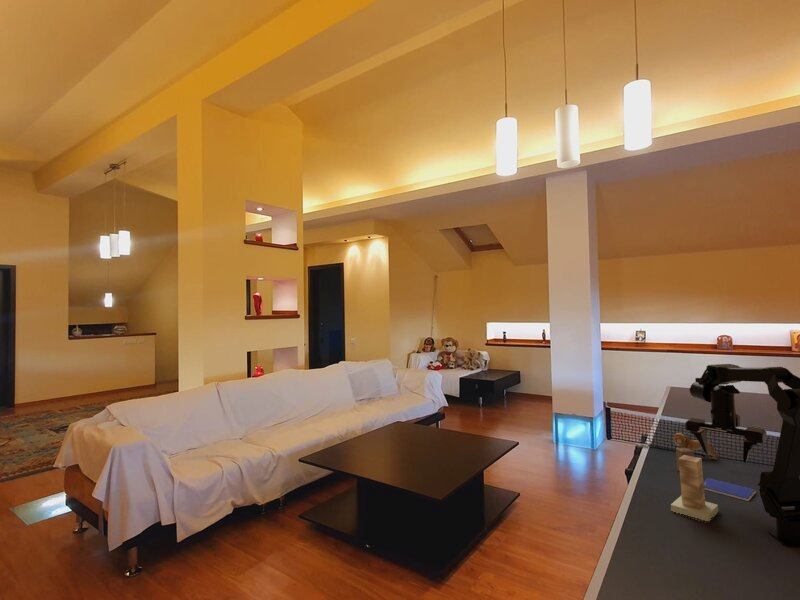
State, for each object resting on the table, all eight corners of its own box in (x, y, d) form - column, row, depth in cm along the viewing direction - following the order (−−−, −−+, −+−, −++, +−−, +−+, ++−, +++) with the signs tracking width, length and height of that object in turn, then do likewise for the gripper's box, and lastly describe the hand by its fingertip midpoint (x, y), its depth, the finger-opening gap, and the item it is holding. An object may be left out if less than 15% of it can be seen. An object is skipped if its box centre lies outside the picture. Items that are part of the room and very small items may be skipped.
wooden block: (688, 469, 150) (687, 447, 150) (695, 474, 146) (694, 451, 146) (676, 470, 150) (675, 447, 150) (683, 474, 146) (681, 451, 146)
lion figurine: (677, 458, 160) (675, 435, 160) (672, 453, 166) (670, 430, 166) (722, 460, 156) (720, 436, 157) (715, 455, 162) (714, 432, 162)
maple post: (705, 504, 121) (701, 458, 122) (700, 509, 118) (696, 462, 119) (687, 499, 125) (683, 454, 125) (682, 504, 122) (678, 458, 123)
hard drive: (699, 484, 136) (748, 497, 126) (707, 477, 141) (755, 489, 131) (699, 489, 136) (748, 503, 126) (708, 482, 141) (755, 494, 131)
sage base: (718, 513, 121) (717, 504, 121) (708, 525, 115) (707, 515, 115) (682, 503, 128) (681, 494, 128) (671, 513, 122) (670, 504, 122)
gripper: (769, 406, 124) (772, 459, 124) (694, 397, 139) (697, 444, 139) (760, 413, 117) (763, 469, 117) (683, 403, 132) (685, 453, 131)
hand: (725, 458), depth 126 cm, fingers open, 9 cm apart
